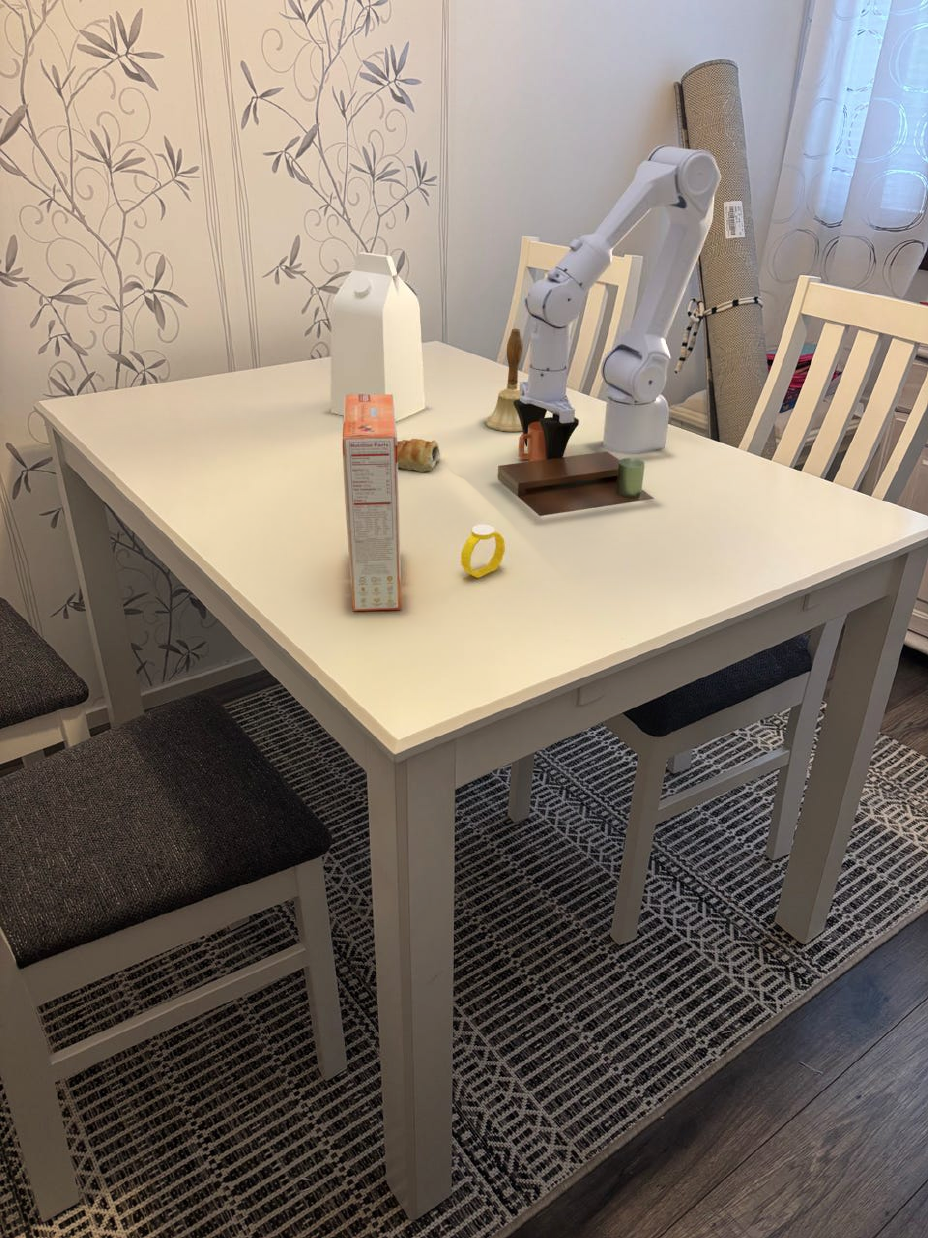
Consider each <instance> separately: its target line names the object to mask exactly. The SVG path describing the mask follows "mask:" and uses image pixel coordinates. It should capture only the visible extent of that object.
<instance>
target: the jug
mask: <svg viewBox="0 0 928 1238" xmlns="http://www.w3.org/2000/svg"><path fill="white" fill-rule="evenodd" d="M518 439H519V440H518V457H519V458H520V459H521V460H527V461H528V462H531V461H538V460H546V448H545V437H544V432H543V428H542V426H541V423H540V422H533V423H531V424H529V425H528V433H527V434H523V433H521V435H520V436H519V438H518ZM525 439H527V447H526V453H525Z"/></svg>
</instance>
